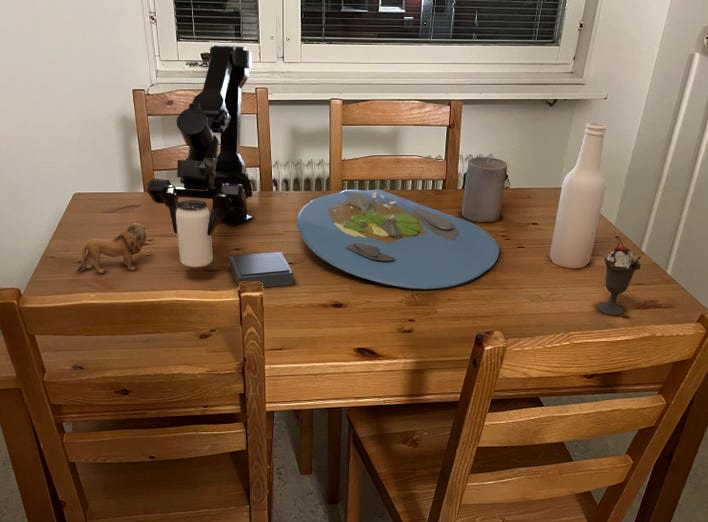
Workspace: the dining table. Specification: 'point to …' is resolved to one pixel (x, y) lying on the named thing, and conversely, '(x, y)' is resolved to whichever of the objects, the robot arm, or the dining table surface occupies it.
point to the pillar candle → (484, 189)
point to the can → (194, 233)
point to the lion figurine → (115, 247)
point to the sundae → (618, 276)
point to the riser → (262, 269)
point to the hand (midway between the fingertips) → (192, 233)
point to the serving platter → (395, 240)
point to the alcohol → (580, 204)
